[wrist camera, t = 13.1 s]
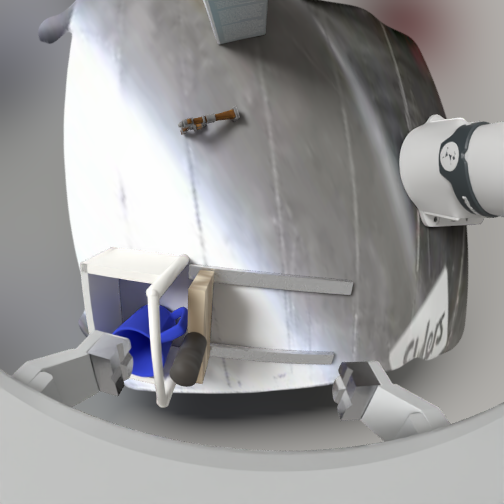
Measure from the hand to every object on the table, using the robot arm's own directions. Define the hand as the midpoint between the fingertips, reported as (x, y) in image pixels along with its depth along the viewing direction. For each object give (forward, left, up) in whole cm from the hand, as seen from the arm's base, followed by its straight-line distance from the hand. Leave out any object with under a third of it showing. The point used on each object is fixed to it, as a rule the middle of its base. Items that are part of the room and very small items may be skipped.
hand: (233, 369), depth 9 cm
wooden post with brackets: (+7, -15, -30) cm, 34 cm away
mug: (+12, +15, -29) cm, 35 cm away
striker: (+5, +13, -28) cm, 31 cm away
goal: (+15, +13, -29) cm, 35 cm away
